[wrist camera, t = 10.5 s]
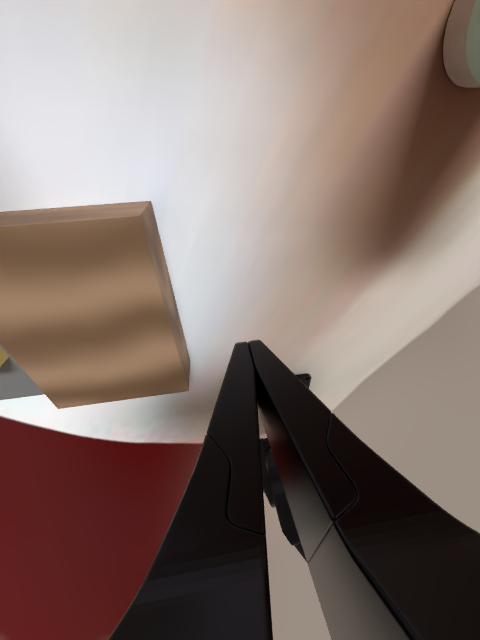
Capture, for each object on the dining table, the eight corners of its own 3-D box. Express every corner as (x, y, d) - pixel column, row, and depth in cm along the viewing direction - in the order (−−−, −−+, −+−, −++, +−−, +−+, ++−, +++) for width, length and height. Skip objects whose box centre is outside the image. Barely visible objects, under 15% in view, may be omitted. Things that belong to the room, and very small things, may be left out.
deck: (189, 360, 26) (188, 390, 23) (75, 375, 25) (58, 408, 22) (151, 201, 17) (139, 216, 13) (-38, 214, 16) (-97, 234, 12)
